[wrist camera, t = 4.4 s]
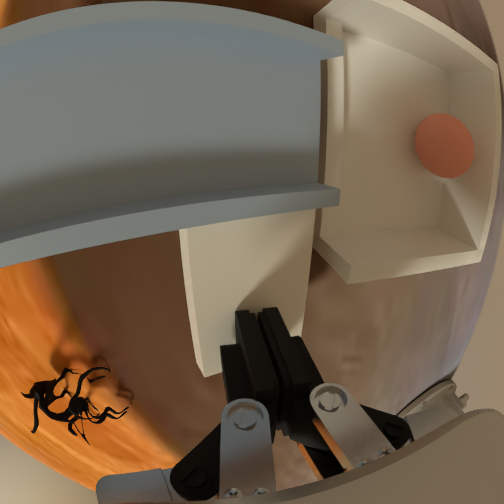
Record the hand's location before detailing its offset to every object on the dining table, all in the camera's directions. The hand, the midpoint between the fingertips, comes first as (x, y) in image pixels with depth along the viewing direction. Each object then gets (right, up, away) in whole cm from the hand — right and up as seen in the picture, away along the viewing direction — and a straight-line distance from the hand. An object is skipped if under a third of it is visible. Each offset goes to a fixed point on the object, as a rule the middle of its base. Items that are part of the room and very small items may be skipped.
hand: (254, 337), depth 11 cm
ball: (+10, +9, 0) cm, 13 cm away
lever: (-6, +4, -3) cm, 8 cm away
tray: (+8, +10, +2) cm, 13 cm away
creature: (-13, -7, +5) cm, 15 cm away
